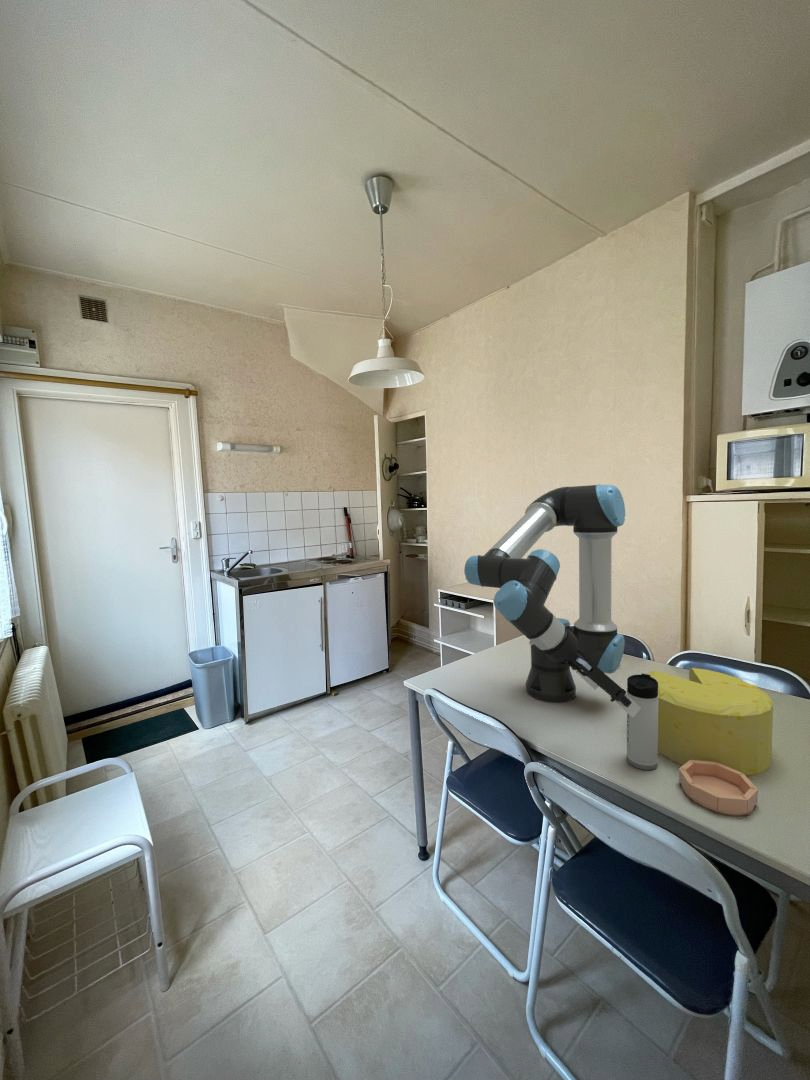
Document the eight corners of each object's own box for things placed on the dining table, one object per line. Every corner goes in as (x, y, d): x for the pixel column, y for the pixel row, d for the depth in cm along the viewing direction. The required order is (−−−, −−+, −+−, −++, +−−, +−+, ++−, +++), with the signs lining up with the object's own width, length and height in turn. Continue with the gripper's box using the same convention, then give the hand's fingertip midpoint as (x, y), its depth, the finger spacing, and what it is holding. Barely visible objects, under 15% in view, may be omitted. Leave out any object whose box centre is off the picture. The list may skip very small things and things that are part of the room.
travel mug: (661, 760, 99) (661, 677, 97) (653, 774, 94) (654, 687, 93) (631, 750, 103) (631, 670, 102) (623, 763, 99) (623, 679, 97)
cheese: (651, 707, 124) (652, 657, 122) (769, 735, 107) (771, 678, 106) (631, 750, 104) (631, 690, 102) (772, 793, 87) (775, 722, 86)
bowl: (697, 812, 83) (697, 795, 82) (672, 773, 94) (672, 758, 94) (768, 819, 80) (769, 801, 80) (733, 778, 92) (734, 763, 92)
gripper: (518, 633, 105) (575, 686, 109) (570, 673, 81) (642, 740, 84) (538, 611, 106) (595, 664, 109) (596, 643, 81) (667, 711, 84)
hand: (615, 697), depth 96 cm, fingers open, 13 cm apart
